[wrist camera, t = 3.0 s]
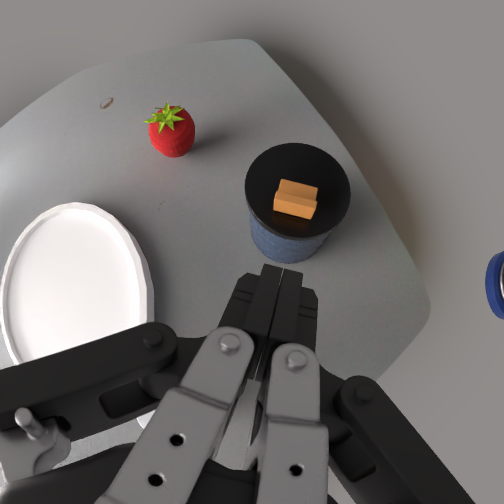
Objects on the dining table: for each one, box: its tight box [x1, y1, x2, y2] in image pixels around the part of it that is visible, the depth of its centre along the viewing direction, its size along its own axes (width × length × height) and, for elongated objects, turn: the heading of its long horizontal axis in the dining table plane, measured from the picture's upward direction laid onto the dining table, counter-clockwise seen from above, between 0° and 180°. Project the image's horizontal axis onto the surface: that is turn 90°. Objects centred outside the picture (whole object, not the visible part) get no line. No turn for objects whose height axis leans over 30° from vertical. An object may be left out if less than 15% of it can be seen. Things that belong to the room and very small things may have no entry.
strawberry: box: [144, 102, 195, 158], centre depth 34 cm, size 6×8×10 cm
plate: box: [0, 202, 154, 365], centre depth 32 cm, size 28×28×2 cm
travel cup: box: [245, 143, 351, 264], centre depth 30 cm, size 9×9×11 cm
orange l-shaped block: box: [274, 179, 318, 219], centre depth 23 cm, size 3×3×2 cm
